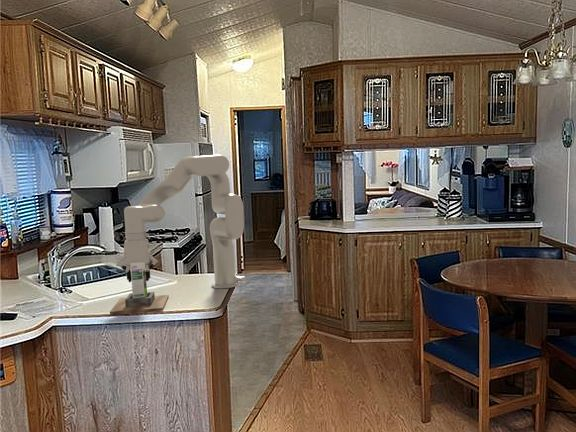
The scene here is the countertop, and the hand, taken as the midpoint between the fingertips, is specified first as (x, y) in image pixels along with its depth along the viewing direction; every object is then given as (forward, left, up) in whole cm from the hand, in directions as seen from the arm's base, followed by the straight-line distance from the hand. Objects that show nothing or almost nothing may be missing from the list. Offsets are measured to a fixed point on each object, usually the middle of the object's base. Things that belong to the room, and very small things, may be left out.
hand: (138, 280), depth 211 cm
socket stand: (0, 0, -11) cm, 11 cm away
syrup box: (0, 0, -7) cm, 7 cm away
